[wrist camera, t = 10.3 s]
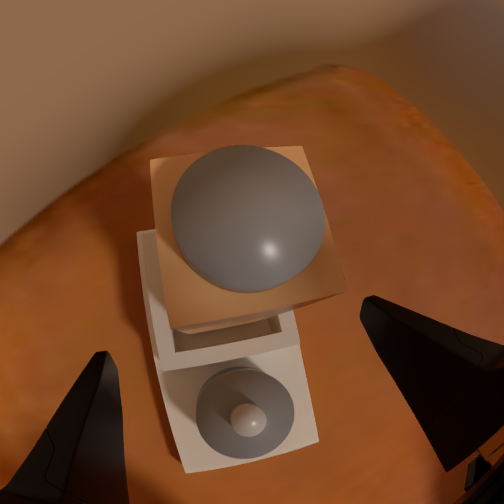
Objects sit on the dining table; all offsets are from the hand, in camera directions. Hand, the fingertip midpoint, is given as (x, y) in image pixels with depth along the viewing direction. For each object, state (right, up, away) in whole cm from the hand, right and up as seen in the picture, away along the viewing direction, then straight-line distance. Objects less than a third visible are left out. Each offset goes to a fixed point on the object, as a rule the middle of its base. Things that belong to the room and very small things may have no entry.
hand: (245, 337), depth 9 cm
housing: (-2, -4, +11) cm, 12 cm away
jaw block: (-2, 0, +11) cm, 11 cm away
